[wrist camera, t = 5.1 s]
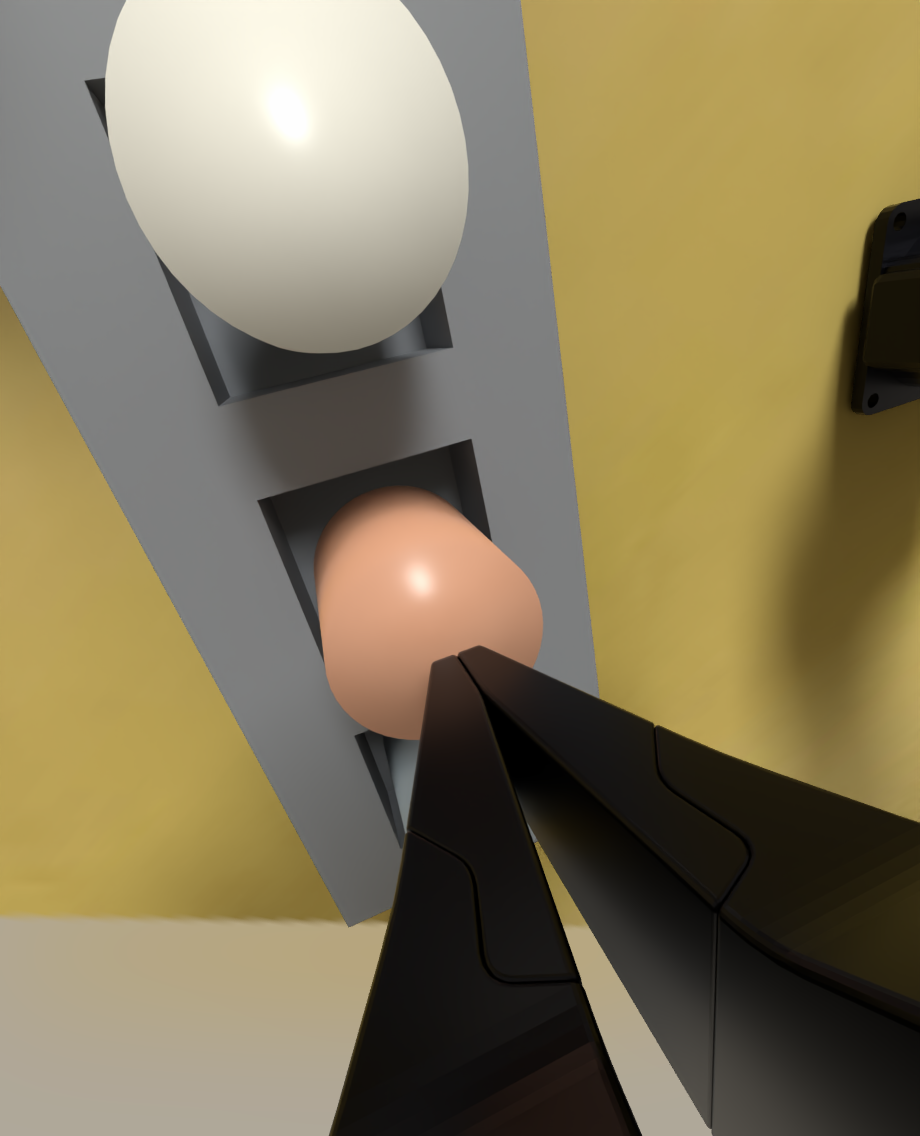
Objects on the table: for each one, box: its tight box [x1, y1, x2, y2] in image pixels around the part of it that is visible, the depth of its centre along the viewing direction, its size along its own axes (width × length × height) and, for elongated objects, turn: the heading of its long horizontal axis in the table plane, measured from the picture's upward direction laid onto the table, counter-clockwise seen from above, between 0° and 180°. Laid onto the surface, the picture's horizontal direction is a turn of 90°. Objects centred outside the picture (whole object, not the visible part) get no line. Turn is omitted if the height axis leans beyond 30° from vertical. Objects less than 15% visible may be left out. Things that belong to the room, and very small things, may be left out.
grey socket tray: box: [0, 0, 599, 927], centre depth 14 cm, size 10×24×3 cm, turn 12°
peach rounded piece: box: [314, 486, 543, 740], centre depth 11 cm, size 4×4×4 cm
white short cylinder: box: [105, 0, 469, 353], centre depth 8 cm, size 4×4×4 cm
